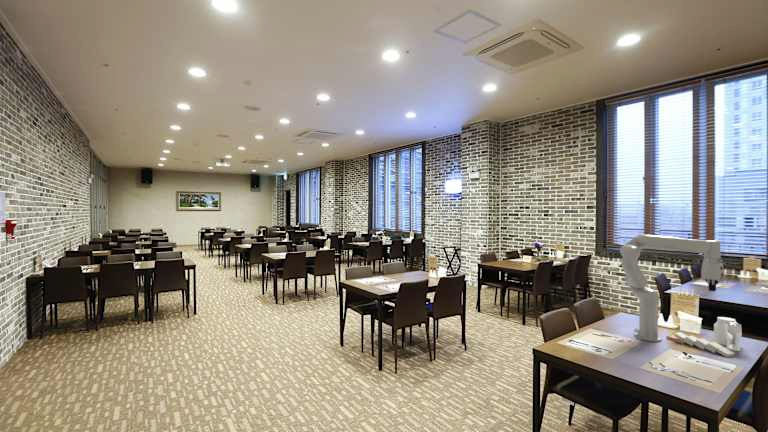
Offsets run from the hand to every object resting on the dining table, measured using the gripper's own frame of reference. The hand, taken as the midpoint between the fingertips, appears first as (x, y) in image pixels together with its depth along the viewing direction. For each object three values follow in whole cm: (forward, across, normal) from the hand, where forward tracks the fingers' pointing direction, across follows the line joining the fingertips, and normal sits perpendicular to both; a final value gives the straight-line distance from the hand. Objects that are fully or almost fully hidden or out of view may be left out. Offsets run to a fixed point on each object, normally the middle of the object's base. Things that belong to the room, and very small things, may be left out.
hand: (712, 290), depth 220 cm
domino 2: (+31, +1, +13) cm, 34 cm away
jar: (+32, -2, -9) cm, 34 cm away
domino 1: (+31, +5, +13) cm, 34 cm away
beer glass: (+32, -10, -1) cm, 34 cm away
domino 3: (+31, -5, +13) cm, 34 cm away
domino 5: (+31, -17, +13) cm, 38 cm away
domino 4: (+31, -11, +13) cm, 36 cm away
